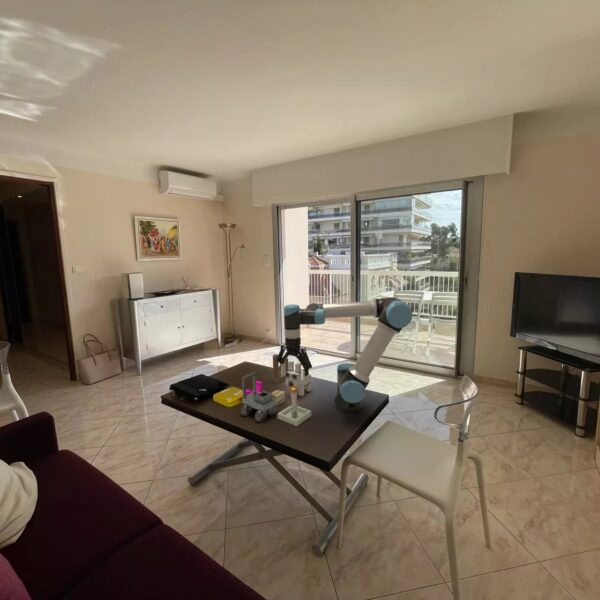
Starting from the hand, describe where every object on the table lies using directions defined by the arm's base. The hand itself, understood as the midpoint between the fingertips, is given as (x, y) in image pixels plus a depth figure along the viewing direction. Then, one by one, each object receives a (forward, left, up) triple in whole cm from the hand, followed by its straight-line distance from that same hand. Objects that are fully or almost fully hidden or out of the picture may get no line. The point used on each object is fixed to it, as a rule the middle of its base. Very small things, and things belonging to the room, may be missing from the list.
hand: (294, 378), depth 156 cm
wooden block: (+36, -31, -21) cm, 52 cm away
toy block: (+32, -3, -21) cm, 38 cm away
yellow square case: (+42, +5, -21) cm, 47 cm away
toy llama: (+15, -24, -21) cm, 35 cm away
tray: (0, 0, -20) cm, 20 cm away
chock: (+18, -7, -21) cm, 28 cm away
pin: (0, 0, -20) cm, 20 cm away
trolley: (+17, +8, -20) cm, 28 cm away
